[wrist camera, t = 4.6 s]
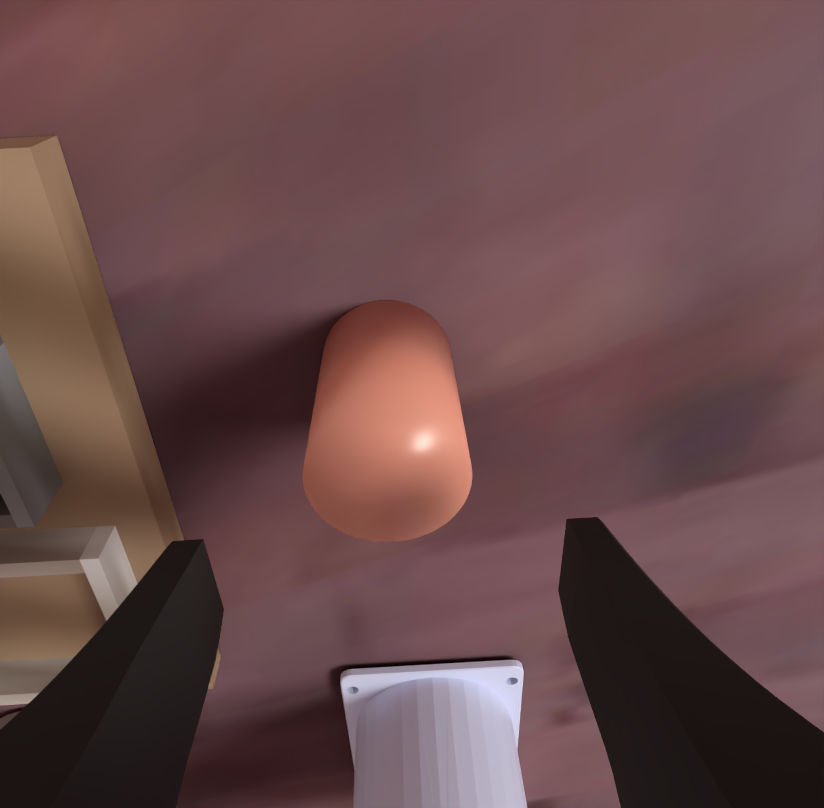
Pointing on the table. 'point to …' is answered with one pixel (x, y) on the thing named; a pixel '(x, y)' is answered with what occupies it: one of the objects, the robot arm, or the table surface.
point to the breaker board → (64, 433)
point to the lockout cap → (387, 427)
